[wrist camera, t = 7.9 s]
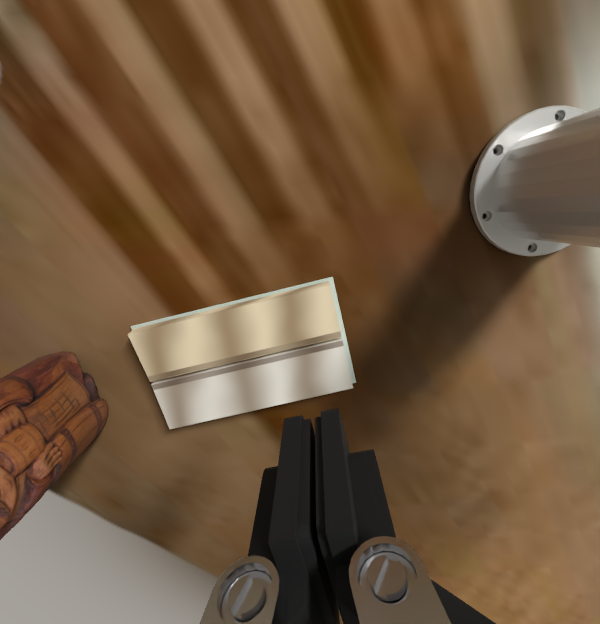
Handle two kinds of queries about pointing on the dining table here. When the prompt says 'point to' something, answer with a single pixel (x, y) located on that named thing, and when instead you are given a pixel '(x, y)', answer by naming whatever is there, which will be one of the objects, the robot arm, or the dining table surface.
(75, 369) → the wooden figurine
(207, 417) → the laid board
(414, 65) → the dining table surface
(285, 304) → the plank
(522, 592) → the dining table surface
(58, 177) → the dining table surface
